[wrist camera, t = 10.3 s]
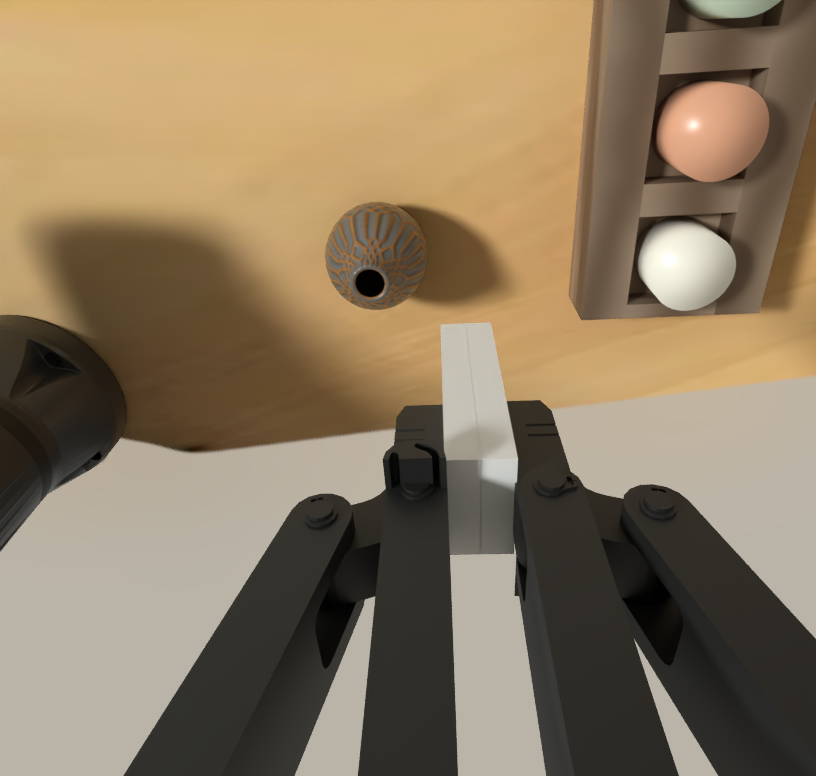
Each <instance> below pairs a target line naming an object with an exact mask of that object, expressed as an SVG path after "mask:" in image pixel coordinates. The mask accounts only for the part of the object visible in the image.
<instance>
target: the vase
mask: <svg viewBox="0 0 816 776" xmlns="http://www.w3.org/2000/svg"><path fill="white" fill-rule="evenodd" d="M325 259H326V267H327V271H328V274H329V277H330V279H331V281H332V283H333V285H334V287H335V288H336V290H337V291H338V292H339V293H340V294H341V295H342V296H343V297H344V298H345V299H346V300H348V301H349V302H351V303H352V304H354V305H356V306H359V307H362V308H365V309H371V310H382V309H387V308H391V307H394V306H396V305H398V304H400V303H402V302H403V301H405V300H406V299H407V298H409V297H410V296H411V295H412V294H413V293H414V292H415V290H416V289H417V288H418V286H419V285H420V283H421V281H422V279H423V277H424V274H425V271H426V266H427V246H426V241H425V238H424V235H423V232H422V230H421V228H420V227H419V225H418V224H417V222H416V221H415V220H414V219H413V218H412V217H411V216H410V215H409V214H408V213H407V212H405V211H404V210H402V209H401V208H399V207H397V206H394V205H392V204H388V203H382V202H371V203H366V204H362V205H359V206H357V207H354V208H353V209H351V210H349V211H348V212H347V213H345V214H344V215H343V216H342V217H341V218H340V219H339V220H338V222H337V223H336V224H335V226H334V227H333V229H332V231H331V233H330V235H329V238H328V241H327V245H326V255H325Z"/></svg>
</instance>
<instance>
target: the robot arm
mask: <svg viewBox="0 0 816 776" xmlns="http://www.w3.org/2000/svg"><path fill="white" fill-rule="evenodd" d="M441 357H442V394H443V405H421V406H405V407H404V409H403V410H402V411H401V412H400V414H399V415H398V416H397V420H396V432H395V442H394V446H392V447H391V448H390V449H389V450H388V451H386V453H385V455H384V458H383V466H384V476H385V485H386V489H385V490H384V491H383V492H382V493H381V494H380V495H378V496H377V497H375V498H373V499H371V500H368V501H365V502H362V503H358V504H354V505H350V503H349V502H348V501H347V500H346V499H344V498H343V497H341V496H338V495H334V494H318V495H314V496H311V497H308V498H306V499H304V500H303V501H301V502H299V503H298V504H297V505H296V506H295V507H294V508H293V509H292V510H291V512H290V514H289V515H288V517H287V518H286V520H285V522H284V523H283V525H282V526H281V528H280V529H279V531H278V533H277V534H276V536H275V537H274V539H273V541H272V542H271V544H270V545H269V547H268V548H267V550H266V551H265V553H264V555H263V556H262V558H261V559H260V561H259V563H258V564H257V566H256V567H255V569H254V571H253V572H252V574H251V575H250V577H249V578H248V580H247V581H246V583H245V585H244V586H243V588H242V590H241V591H240V593H239V594H238V596H237V597H236V599H235V600H234V602H233V604H232V605H231V607H230V608H229V610H228V611H227V613H226V615H225V616H224V618H223V619H222V621H221V623H220V624H219V626H218V627H217V629H216V630H215V632H214V634H213V636H212V637H211V638H210V640H209V641H208V643H207V645H206V646H205V648H204V649H203V651H202V653H201V654H200V656H199V658H198V659H197V661H196V662H195V664H194V665H193V667H192V668H191V670H190V672H189V673H188V675H187V676H186V678H185V679H184V681H183V683H182V684H181V686H180V687H179V689H178V690H177V692H176V694H175V695H174V697H173V698H172V700H171V701H170V703H169V705H168V706H167V708H166V710H165V711H164V713H163V714H162V716H161V717H160V719H159V720H158V722H157V724H156V725H155V727H154V728H153V730H152V732H151V733H150V735H149V736H148V738H147V739H146V741H145V743H144V744H143V746H142V747H141V749H140V751H139V752H138V754H137V755H136V757H135V758H134V760H133V761H132V763H131V765H130V766H129V768H128V769H127V771H126V773H125V774H124V776H294V775H295V773H296V770H297V768H298V766H299V763H300V761H301V758H302V756H303V753H304V751H305V748H306V746H307V744H308V741H309V739H310V736H311V734H312V731H313V729H314V726H315V724H316V721H317V719H318V716H319V714H320V712H321V709H322V707H323V704H324V702H325V699H326V697H327V694H328V692H329V689H330V687H331V684H332V682H333V680H334V677H335V674H336V672H337V670H338V667H339V665H340V662H341V660H342V657H343V655H344V653H345V650H346V647H347V645H348V643H349V640H350V638H351V635H352V633H353V630H354V628H355V625H356V623H357V621H358V618H359V616H360V613H361V611H362V608H363V606H364V600H365V599H368V598H371V597H374V596H376V597H375V607H374V617H373V627H372V638H371V648H370V658H369V668H368V678H367V688H366V699H365V709H364V719H363V730H362V740H361V750H360V760H359V771H358V776H458V767H457V738H456V711H455V684H454V656H453V629H452V602H451V574H450V555H453V554H454V555H458V554H513V553H514V543H515V549H516V555H517V557H516V577H515V578H516V579H515V596H519V597H520V603H521V611H522V617H523V624H524V630H525V637H526V644H527V650H528V657H529V664H530V670H531V676H532V683H533V690H534V697H535V704H536V710H537V717H538V724H539V730H540V737H541V743H542V750H543V756H544V763H545V770H546V776H679V775H678V772H677V769H676V766H675V763H674V760H673V757H672V754H671V751H670V748H669V745H668V742H667V739H666V736H665V733H664V729H663V726H662V723H661V720H660V717H659V714H658V711H657V708H656V706H655V702H654V699H653V696H652V693H651V690H650V687H649V684H648V681H647V678H646V675H645V672H644V669H643V666H642V663H641V660H640V657H639V653H638V650H637V647H636V644H635V641H636V642H637V644H638V646H639V647H640V649H641V650H642V652H643V654H644V655H645V657H646V659H647V660H648V662H649V663H650V665H651V667H652V668H653V670H654V671H655V673H656V675H657V677H658V678H659V680H660V681H661V683H662V685H663V686H664V688H665V689H666V691H667V693H668V694H669V696H670V698H671V699H672V701H673V703H674V704H675V706H676V707H677V709H678V711H679V712H680V714H681V716H682V717H683V719H684V721H685V722H686V724H687V725H688V727H689V729H690V730H691V732H692V733H693V735H694V737H695V738H696V740H697V742H698V743H699V745H700V747H701V748H702V750H703V751H704V753H705V755H706V756H707V758H708V760H709V761H710V763H711V764H712V766H713V768H714V769H715V771H716V772H717V774H718V776H816V639H815V638H814V637H813V635H812V634H811V633H810V632H809V631H808V630H807V629H806V628H805V627H804V626H803V625H802V623H800V621H799V620H798V619H797V618H796V617H795V616H794V615H793V614H792V613H791V612H790V610H789V609H788V608H787V607H786V606H785V605H784V604H783V603H782V602H781V601H780V600H779V598H778V597H777V596H776V595H775V594H774V593H773V592H772V591H771V590H770V589H769V588H768V587H767V585H766V584H765V583H764V582H763V581H762V580H761V579H760V578H759V577H758V576H757V575H756V574H755V572H754V571H753V570H752V569H751V568H750V567H749V566H748V565H747V564H746V563H745V561H744V560H743V559H742V558H741V557H740V556H739V555H738V554H737V553H736V552H735V551H734V550H733V548H731V546H730V545H729V544H728V543H727V542H726V541H725V540H724V539H723V538H722V537H721V535H720V534H719V533H718V532H717V531H716V530H715V529H714V528H713V527H712V526H711V525H710V523H708V521H707V520H706V519H705V518H704V517H703V516H702V515H701V514H700V513H699V511H697V509H696V508H695V507H694V506H693V505H692V504H691V503H690V502H689V501H688V500H687V499H686V498H685V497H683V496H682V495H681V494H680V493H678V492H676V491H674V490H672V489H669V488H667V487H663V486H658V485H639V486H636V487H634V488H631V489H630V490H629V491H628V492H627V493H626V494H625V495H624V499H621V498H616V497H611V496H606V495H602V494H599V493H595V492H593V491H591V490H588V489H586V488H585V487H584V486H583V484H582V483H581V481H580V479H579V478H578V477H577V476H576V475H574V474H573V473H572V472H571V471H570V468H569V465H568V462H567V459H566V455H565V453H564V449H563V446H562V443H561V440H560V436H559V433H558V430H557V427H556V426H555V420H554V417H553V414H552V411H551V410H550V409H549V408H548V407H547V406H546V405H545V404H543V403H542V402H541V401H540V400H534V401H506V396H505V391H504V386H503V381H502V376H501V371H500V366H499V361H498V356H497V351H496V346H495V342H494V337H493V332H492V327H491V323H466V324H442V325H441ZM125 423H126V406H125V401H124V397H123V394H122V391H121V389H120V386H119V384H118V382H117V380H116V379H115V377H114V375H113V374H112V372H111V371H110V369H109V368H108V367H107V365H106V364H105V363H104V362H103V361H102V360H101V358H100V357H99V356H98V355H97V354H96V353H95V352H93V351H92V350H91V349H90V348H89V347H88V346H86V345H85V344H84V343H83V342H81V341H80V340H78V339H77V338H75V337H74V336H72V335H71V334H69V333H67V332H65V331H63V330H62V329H60V328H57V327H55V326H53V325H51V324H48V323H45V322H42V321H39V320H36V319H32V318H27V317H22V316H12V315H0V551H1V550H2V549H3V548H4V547H5V545H6V544H7V543H8V541H9V540H10V539H11V538H12V536H13V535H14V534H15V533H16V532H17V530H18V529H19V528H20V527H21V526H22V524H23V523H24V522H25V521H26V519H27V518H28V517H29V516H30V514H31V513H32V512H33V511H34V510H35V508H36V507H37V506H38V505H39V503H40V502H41V501H42V500H43V499H44V497H45V496H46V495H47V494H48V493H50V492H52V491H53V490H55V489H57V488H59V487H61V486H62V485H64V484H66V483H68V482H69V481H71V480H73V479H75V478H76V477H78V476H80V475H81V474H83V473H85V472H87V471H89V470H90V469H92V468H93V467H95V466H96V465H98V464H99V463H100V462H101V461H102V460H103V459H104V458H105V457H106V456H107V455H108V453H109V452H110V451H111V449H112V448H113V447H114V446H115V444H116V443H117V442H118V441H119V439H120V437H121V435H122V433H123V430H124V427H125ZM633 637H634V638H633ZM634 639H635V641H634Z"/></svg>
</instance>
